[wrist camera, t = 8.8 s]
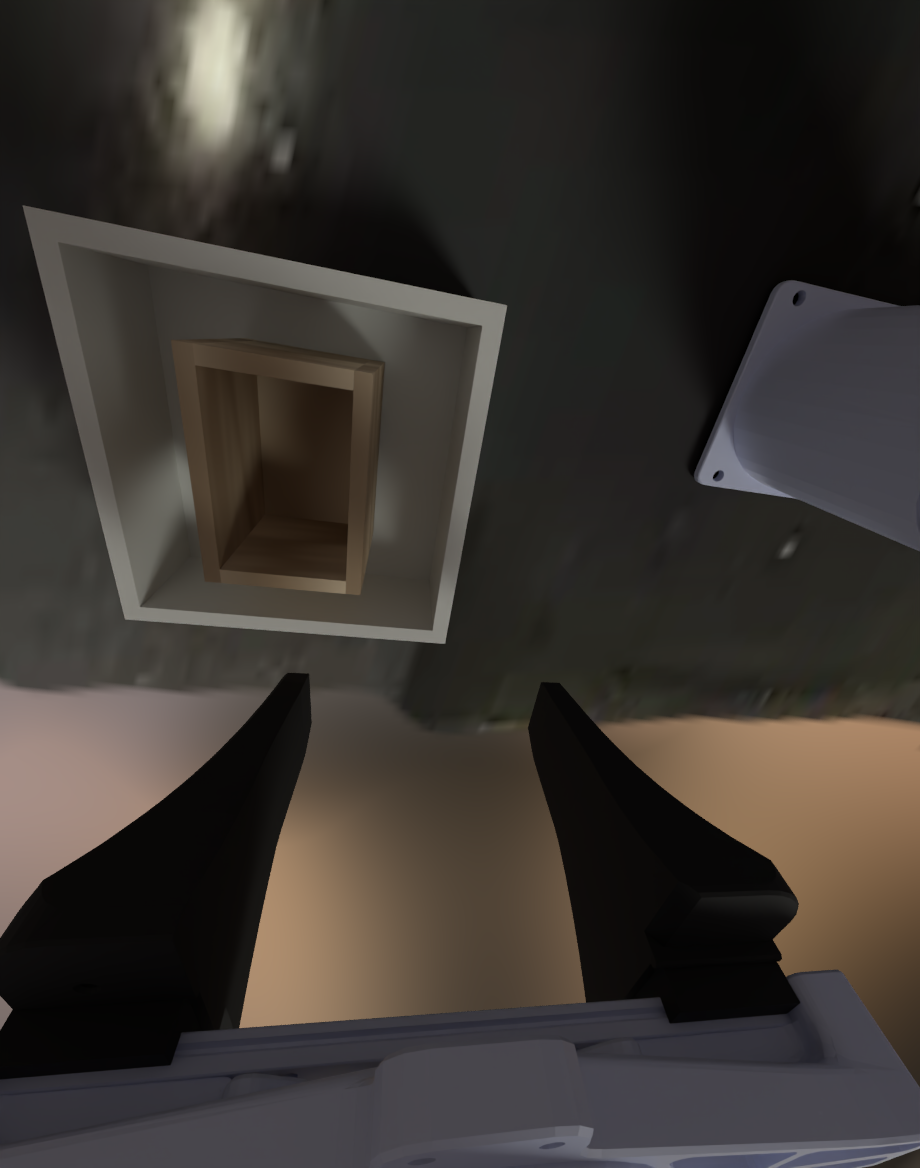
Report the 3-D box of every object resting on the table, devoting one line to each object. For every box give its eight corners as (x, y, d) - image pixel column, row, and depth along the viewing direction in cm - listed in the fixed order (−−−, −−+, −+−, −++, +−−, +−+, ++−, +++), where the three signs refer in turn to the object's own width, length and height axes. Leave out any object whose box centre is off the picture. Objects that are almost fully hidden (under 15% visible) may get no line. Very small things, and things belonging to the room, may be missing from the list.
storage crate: (483, 313, 17) (507, 305, 12) (438, 584, 22) (445, 643, 18) (137, 243, 15) (22, 205, 10) (186, 559, 20) (125, 619, 16)
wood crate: (384, 362, 16) (372, 373, 12) (373, 532, 20) (360, 594, 15) (244, 338, 16) (170, 339, 11) (257, 519, 19) (204, 581, 14)
